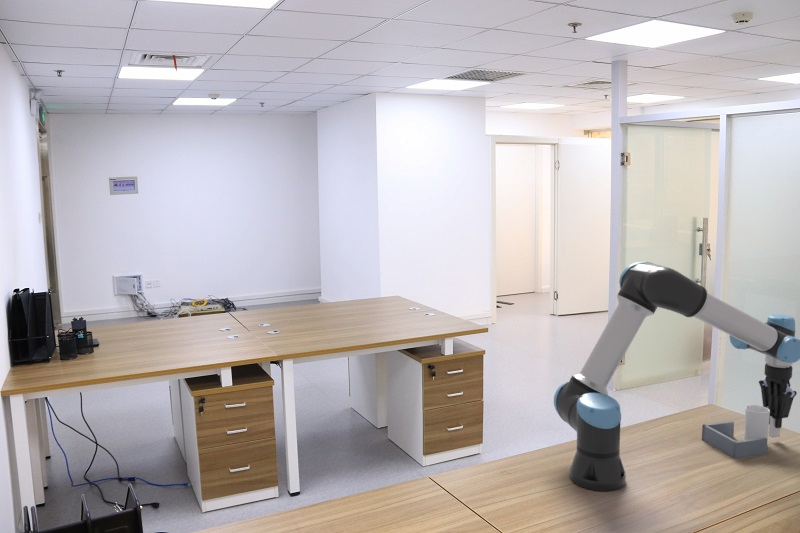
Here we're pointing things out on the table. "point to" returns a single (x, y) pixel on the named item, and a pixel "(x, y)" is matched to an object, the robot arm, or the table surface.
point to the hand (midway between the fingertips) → (774, 436)
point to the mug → (756, 422)
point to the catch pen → (732, 441)
